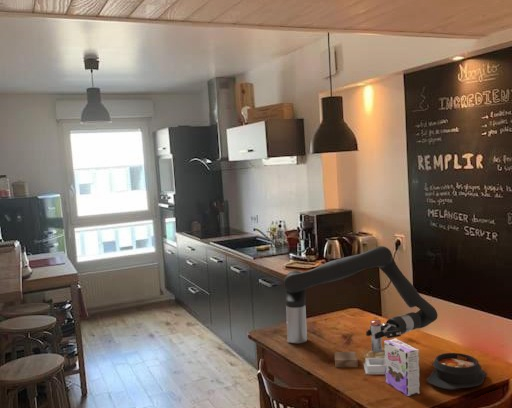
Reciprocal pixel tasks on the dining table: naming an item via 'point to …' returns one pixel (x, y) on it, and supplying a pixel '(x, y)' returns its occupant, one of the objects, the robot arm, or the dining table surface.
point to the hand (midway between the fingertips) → (371, 334)
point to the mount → (345, 359)
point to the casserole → (456, 371)
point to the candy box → (402, 366)
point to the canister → (374, 329)
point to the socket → (374, 365)
